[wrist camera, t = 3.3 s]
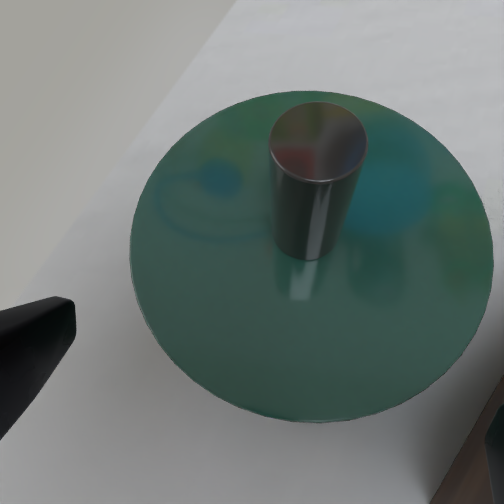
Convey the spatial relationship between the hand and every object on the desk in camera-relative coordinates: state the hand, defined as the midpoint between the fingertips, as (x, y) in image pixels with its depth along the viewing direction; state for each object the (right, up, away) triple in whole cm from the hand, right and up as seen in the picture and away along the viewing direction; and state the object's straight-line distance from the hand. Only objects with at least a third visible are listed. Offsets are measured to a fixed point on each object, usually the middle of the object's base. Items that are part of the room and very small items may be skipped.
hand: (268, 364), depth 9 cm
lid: (+2, +3, +6) cm, 7 cm away
